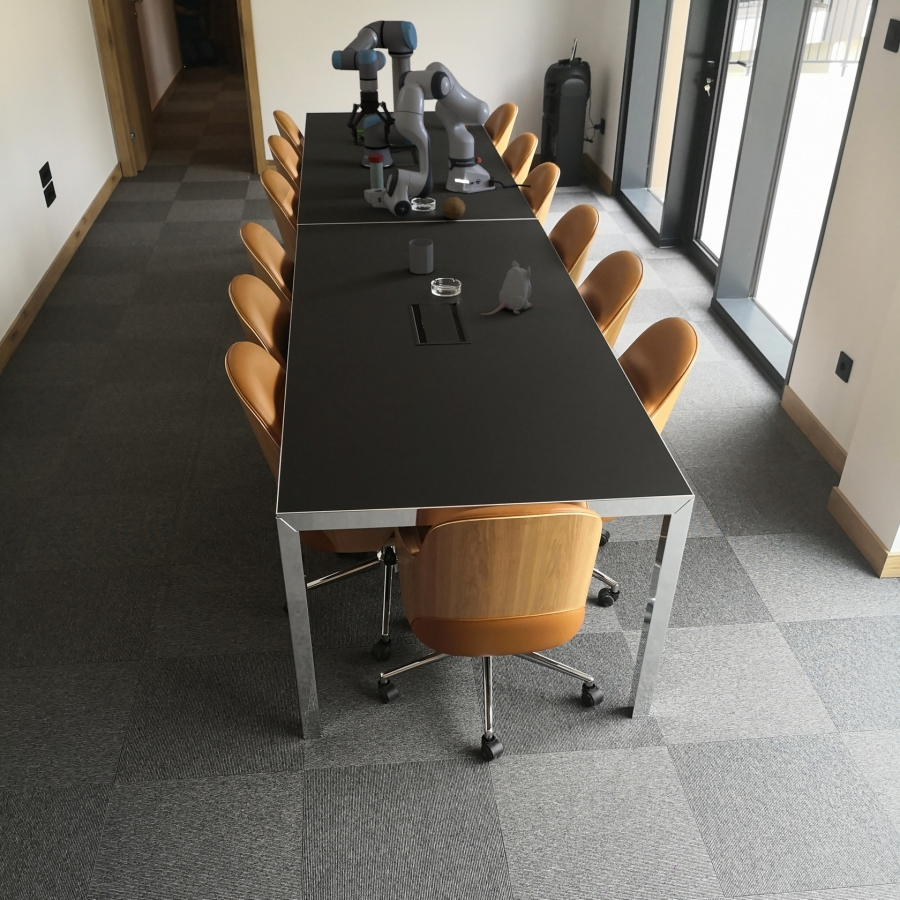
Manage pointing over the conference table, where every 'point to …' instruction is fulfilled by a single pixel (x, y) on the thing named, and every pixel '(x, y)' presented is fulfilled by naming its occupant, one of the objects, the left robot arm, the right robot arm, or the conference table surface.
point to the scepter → (360, 137)
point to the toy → (515, 290)
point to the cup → (421, 256)
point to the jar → (376, 175)
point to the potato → (453, 208)
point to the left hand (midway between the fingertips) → (371, 143)
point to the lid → (376, 158)
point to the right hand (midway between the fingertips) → (384, 188)
